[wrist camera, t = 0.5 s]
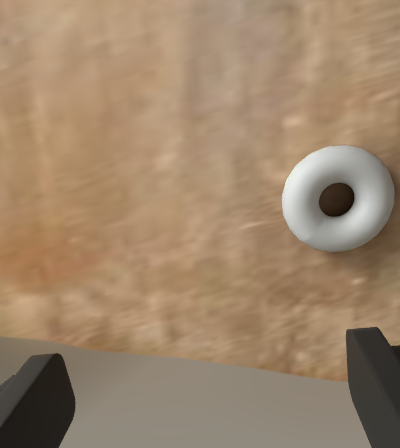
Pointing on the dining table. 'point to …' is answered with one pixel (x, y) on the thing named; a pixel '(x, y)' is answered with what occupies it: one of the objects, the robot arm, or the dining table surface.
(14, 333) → the dining table surface
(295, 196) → the donut
